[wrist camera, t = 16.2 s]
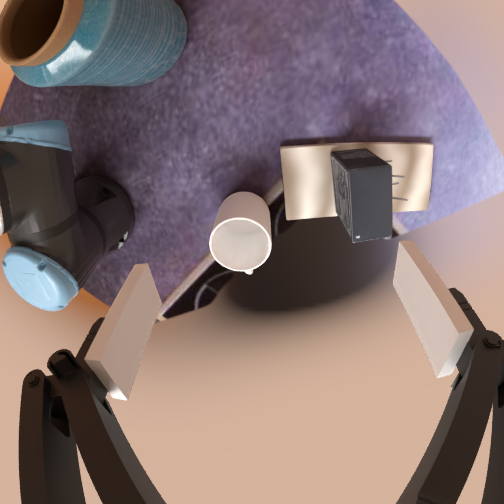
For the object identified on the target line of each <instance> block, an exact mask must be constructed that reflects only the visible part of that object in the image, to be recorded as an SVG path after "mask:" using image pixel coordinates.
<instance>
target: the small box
mask: <svg viewBox="0 0 504 504" xmlns="http://www.w3.org/2000/svg"><path fill="white" fill-rule="evenodd" d="M330 155H331V165H332V175H333V186H334V197H335V208H336V213H337V215H338V216H339V218H340V219H341V221H342V223H343V225H344V227H345V229H346V230H347V233H348V234H349V236H350V238H351V240H352V242H353V243H355V242H361V241H368V240H373V239H380V238H385V237H391V236H392V211H393V202H392V199H393V193H392V165H390V164H388V163H387V162H386V161H384V160H383V159H381V158H380V157H378V156H377V155H375V154H374V153H372V152H371V151H369V150H368V149H366V148H363V149H352V150H343V151H333V152H331V153H330Z"/></svg>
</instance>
